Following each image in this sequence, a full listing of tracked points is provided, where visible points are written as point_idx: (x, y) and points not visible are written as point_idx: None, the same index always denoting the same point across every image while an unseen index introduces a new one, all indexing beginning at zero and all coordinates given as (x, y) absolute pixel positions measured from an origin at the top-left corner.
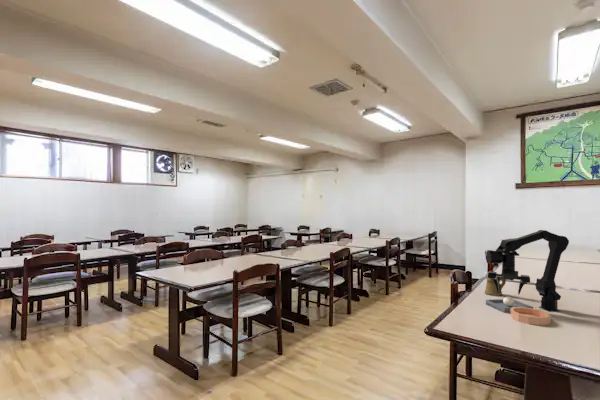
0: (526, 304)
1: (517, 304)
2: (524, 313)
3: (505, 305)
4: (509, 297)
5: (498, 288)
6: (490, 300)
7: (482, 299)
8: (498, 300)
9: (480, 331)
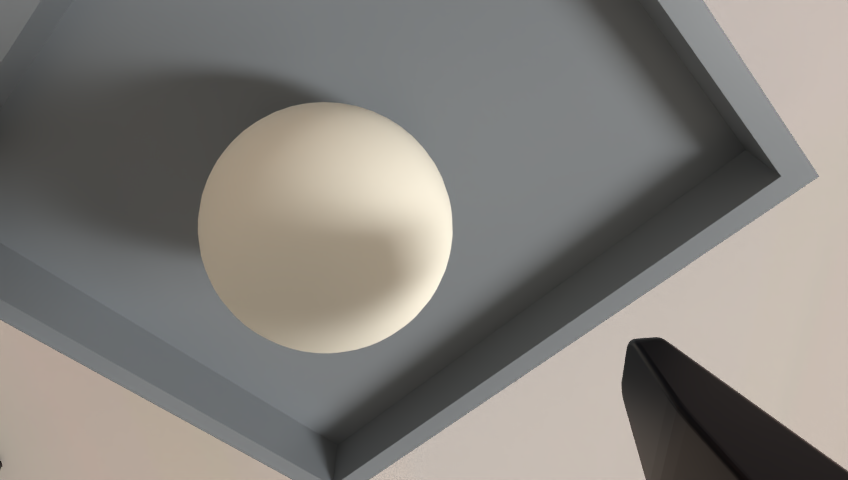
0: (38, 337)
1: (240, 374)
2: None
3: None
4: (281, 258)
5: (695, 441)
6: (701, 219)
7: (757, 391)
8: (540, 328)
9: None
